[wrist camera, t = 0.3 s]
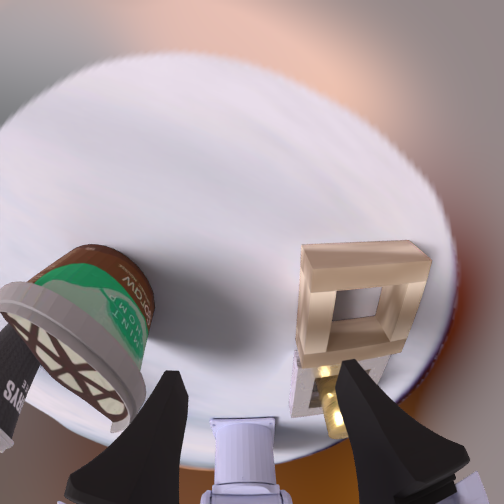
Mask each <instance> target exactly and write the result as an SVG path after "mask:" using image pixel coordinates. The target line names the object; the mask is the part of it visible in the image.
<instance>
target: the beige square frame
mask: <svg viewBox="0 0 504 504" xmlns="http://www.w3.org/2000/svg"><path fill="white" fill-rule="evenodd" d="M431 263H432V260H431V259H430V258H429V257H428V256H427V255H426V254H425V253H423V252H422V251H421V250H420V249H419V248H417V247H416V246H415V245H414V244H413V243H412V242H410V241H409V240H400V241H375V242H352V243H328V244H306V245H301V266H300V284H299V299H298V313H297V326H296V338H295V340H296V344H297V348H298V353H299V357H300V362H301V366H302V369H305V368H313V367H322V366H329V365H336V364H341V363H342V361H344V360H350V359H356V360H357V361H361V360H366V359H372V358H377V357H382V356H387V355H391V354H396V353H400V352H401V351H402V349H403V347H404V344H405V342H406V339H407V337H408V334H409V332H410V329H411V326H412V324H413V321H414V318H415V315H416V313H417V310H418V307H419V304H420V301H421V298H422V294H423V291H424V288H425V285H426V281H427V278H428V274H429V271H430V267H431ZM372 287H382V291H381V295H380V299H379V303H378V307H377V311H376V314H375V316H371V317H363V318H356V319H348V320H339V321H332V317H333V311H334V305H335V298H336V292H337V291H341V290H352V289H362V288H372Z"/></svg>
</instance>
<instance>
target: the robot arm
mask: <svg viewBox="0 0 504 504" xmlns="http://www.w3.org/2000/svg"><path fill="white" fill-rule="evenodd" d="M335 391H336V396H337V401H338V406H339V409H340V412H341V415H342V418H343V421H344V424H345V427H346V430H347V433H348V437H349V439H350V442H351V446H352V450H353V455H354V460H355V466H356V472H357V479H358V489H359V502H360V504H489V501H488V498H487V495H486V492H485V489H484V487H483V484H482V481H481V479H480V477H479V474H478V471H475V472H474V473H472V474H471V475H469V476H467V477H466V478H464V479H463V480H461V481H460V482H458V483H456V484H454V481H453V480H455V479H456V476H455V474H454V473H456V472H457V471H459V470H460V469H461V468H463V467H464V466H465V465H466V464H468V463H469V461H470V458H469V456H468V454H467V451H466V449H465V448H464V446H462V445H460V444H458V443H455V442H453V441H450V440H448V439H446V438H444V437H442V436H440V435H438V434H436V433H434V432H433V431H431V430H430V429H428V428H426V427H425V426H423V425H421V424H420V423H419V422H417V421H416V420H415V419H413V418H412V417H411V416H409V415H408V414H407V413H405V412H404V411H403V410H402V409H401V408H400V407H399V406H398V405H397V404H396V403H395V402H393V401H392V400H391V399H390V398H389V397H388V396H387V395H386V394H385V393H384V391H383V390H382V389H381V388H380V387H379V386H378V385H377V384H376V383H375V382H374V381H373V379H372V378H371V377H370V376H369V375H368V374H367V372H366V371H365V370H364V369H363V368H362V366H361V365H360V364H359V363H358V361H357V360H356V359H350V360H344V361H342V363H341V367H340V371H339V374H338V378H337V381H336V385H335ZM187 414H188V394H187V391H186V389H185V386H184V383H183V381H182V378H181V375H180V372H179V371H168V370H166V371H165V372H164V374H163V375H162V377H161V379H160V380H159V382H158V384H157V386H156V387H155V389H154V390H153V392H152V394H151V395H150V397H149V398H148V400H147V401H146V403H145V404H144V406H143V407H142V409H141V410H140V411H139V413H138V414H137V415H136V417H135V418H134V419H133V421H132V422H131V423H130V424H129V426H128V427H127V428H126V429H125V430H124V431H123V432H122V434H121V435H120V436H119V437H118V438H117V439H116V440H115V441H114V442H113V443H112V444H111V445H110V446H109V447H108V448H106V449H105V450H104V451H103V452H102V453H101V454H99V455H98V456H97V457H96V458H94V459H93V460H92V461H90V462H89V463H88V464H86V465H85V466H83V467H81V468H80V469H78V470H77V471H75V472H74V473H72V474H70V477H69V479H68V482H67V486H66V490H65V494H64V496H65V498H67V499H69V500H70V501H72V502H74V503H76V504H179V464H180V455H181V449H182V443H183V438H184V432H185V427H186V421H187ZM210 426H211V429H212V431H213V434H214V437H215V440H216V455H215V483H214V484H215V485H213V486H212V491H210V490H207V491H206V492H205V493H204V494H202V498H201V504H292V500H291V496H290V495H289V494H288V493H287V492H286V491H285V490H280V488H279V485H276V478H275V467H274V455H273V446H274V432H275V418H257V419H212V420H210ZM57 504H65V503H63V502H61V501H58V502H57Z"/></svg>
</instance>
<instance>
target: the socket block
mask: <svg viewBox="0 0 504 504" xmlns="http://www.w3.org/2000/svg"><path fill="white" fill-rule="evenodd" d="M389 358H390V355H387V356H382V357H377V358H372V359H366V360H361V361H358V363H359V364H360V365H361V366H362V368H363V369H364V370H365V371H366V372H367V374H368V375H369V376H370V377H371V378H372V379H373V381H374V382H375V383H376V384H377V385H378V383H379V380H380V378H381V376H382V374H383V372H384V369H385V367H386V365H387V362H388V360H389ZM340 367H341V364H336V365H329V366H322V367H313V368H305V369H302V366H301V362H300V357H299V353H298V350H296V351H294V360H293V369H292V379H291V388H290V396H289V407H290V414H291V418H296V417H304V416H312V415H319V414H323V409H322V405H321V401H320V397H319V393H318V391H317V392H312V390H313V385H314V381H315V378H319V377H327V376H333V375H338V374H339V371H340Z"/></svg>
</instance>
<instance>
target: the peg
mask: <svg viewBox="0 0 504 504" xmlns="http://www.w3.org/2000/svg"><path fill="white" fill-rule="evenodd" d="M337 378H338V375H333V376H327V377H319V378H315V381H316V385H317V389H318V393H319V397H320V401H321V405H322V409H323V414H324V418H325V422H326V426H327V430H328V435H329V437H330V438H332V439H343V438H348V433H347V430H346V427H345V424H344V421H343V418H342V415H341V412H340V409H339V406H338V401H337V396H336V391H335V385H336V381H337Z"/></svg>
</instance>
